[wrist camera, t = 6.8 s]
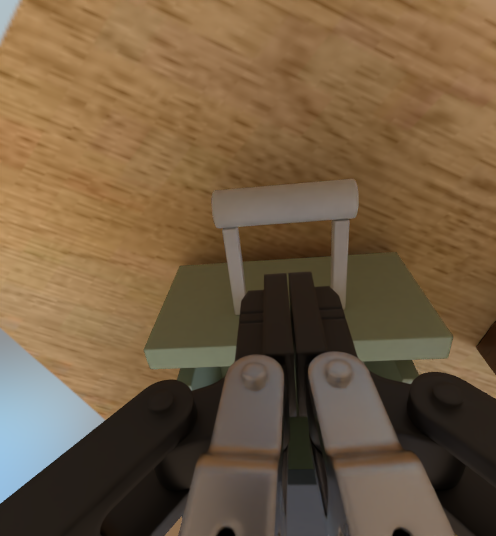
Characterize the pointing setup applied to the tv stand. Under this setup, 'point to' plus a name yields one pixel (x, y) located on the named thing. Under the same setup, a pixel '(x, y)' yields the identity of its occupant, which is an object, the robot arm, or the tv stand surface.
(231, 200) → the drawer
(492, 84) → the tv stand surface
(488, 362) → the stand
